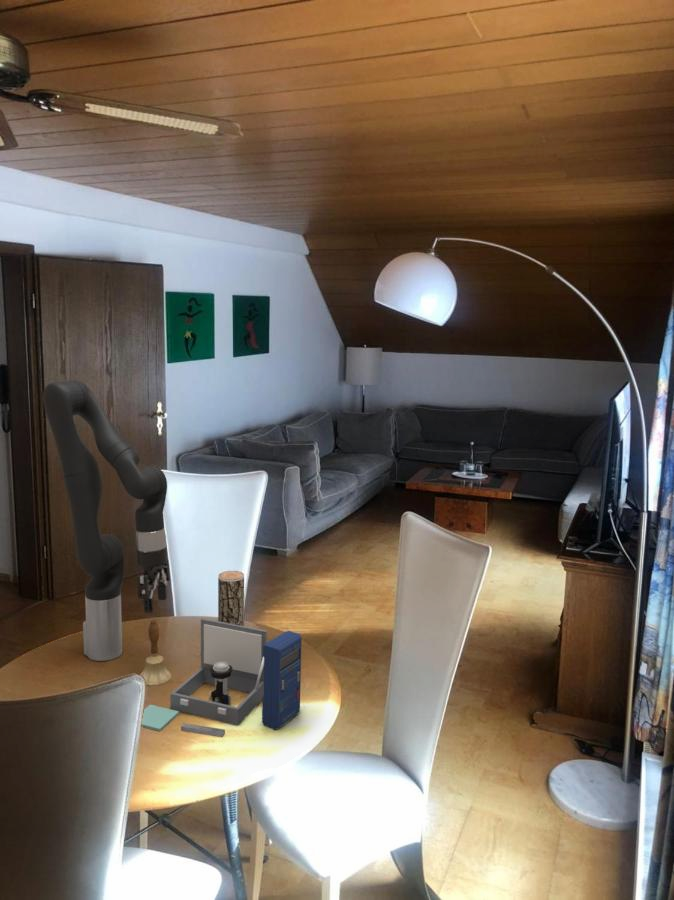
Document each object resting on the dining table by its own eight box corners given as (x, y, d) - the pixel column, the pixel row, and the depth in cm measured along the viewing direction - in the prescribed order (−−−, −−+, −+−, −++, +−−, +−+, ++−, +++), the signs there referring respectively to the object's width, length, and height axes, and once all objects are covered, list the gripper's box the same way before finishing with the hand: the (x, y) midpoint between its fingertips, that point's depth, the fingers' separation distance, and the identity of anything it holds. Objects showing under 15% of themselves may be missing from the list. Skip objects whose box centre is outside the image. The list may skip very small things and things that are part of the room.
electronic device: (278, 731, 171) (279, 649, 167) (260, 724, 173) (261, 643, 170) (301, 713, 179) (303, 634, 175) (284, 706, 181) (285, 629, 177)
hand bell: (171, 684, 190) (170, 625, 187) (137, 687, 188) (136, 627, 185) (171, 669, 198) (170, 612, 195) (139, 671, 196) (137, 614, 193)
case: (169, 710, 178) (168, 643, 175) (203, 679, 193) (203, 617, 190) (239, 727, 172) (240, 658, 169) (269, 694, 187) (270, 630, 184)
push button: (202, 701, 183) (201, 663, 181) (218, 693, 187) (218, 655, 185) (219, 711, 178) (219, 672, 177) (236, 702, 182) (237, 664, 181)
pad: (130, 723, 172) (130, 721, 172) (150, 706, 179) (150, 704, 179) (160, 731, 169) (160, 728, 169) (179, 713, 177) (179, 711, 177)
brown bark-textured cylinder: (238, 670, 199) (239, 580, 194) (214, 667, 200) (214, 578, 195) (246, 658, 205) (247, 572, 200) (223, 655, 206) (223, 569, 202)
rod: (181, 731, 170) (181, 726, 170) (183, 728, 171) (183, 723, 171) (222, 738, 168) (222, 732, 168) (224, 735, 169) (224, 729, 169)
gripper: (149, 537, 200) (153, 595, 203) (125, 554, 186) (130, 615, 189) (176, 538, 198) (180, 596, 201) (153, 554, 185) (158, 617, 187)
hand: (155, 605), depth 195 cm, fingers open, 8 cm apart
